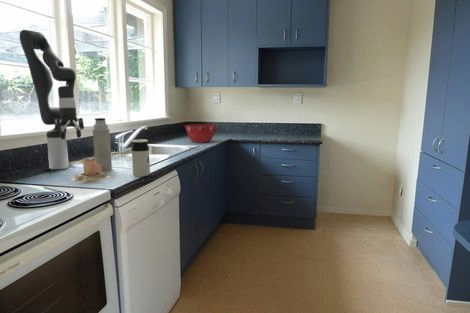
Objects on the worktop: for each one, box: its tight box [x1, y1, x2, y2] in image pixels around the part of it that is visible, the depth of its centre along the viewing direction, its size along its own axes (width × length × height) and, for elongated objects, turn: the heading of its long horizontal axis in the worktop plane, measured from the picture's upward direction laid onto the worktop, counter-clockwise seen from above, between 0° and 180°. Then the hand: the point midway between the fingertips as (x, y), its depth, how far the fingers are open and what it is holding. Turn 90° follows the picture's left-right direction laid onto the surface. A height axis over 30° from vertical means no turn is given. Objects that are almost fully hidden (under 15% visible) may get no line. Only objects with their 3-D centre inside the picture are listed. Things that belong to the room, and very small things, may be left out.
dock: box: [68, 171, 113, 184], centre depth 150 cm, size 14×14×3 cm
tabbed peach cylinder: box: [82, 157, 102, 176], centre depth 148 cm, size 10×6×9 cm, turn 58°
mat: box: [43, 186, 62, 193], centre depth 139 cm, size 12×12×1 cm
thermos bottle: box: [92, 117, 113, 172], centre depth 166 cm, size 8×8×28 cm
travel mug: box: [131, 138, 151, 177], centre depth 157 cm, size 8×8×18 cm
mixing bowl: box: [184, 123, 217, 144], centre depth 286 cm, size 28×28×16 cm
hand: (71, 138), depth 168 cm, fingers open, 8 cm apart
